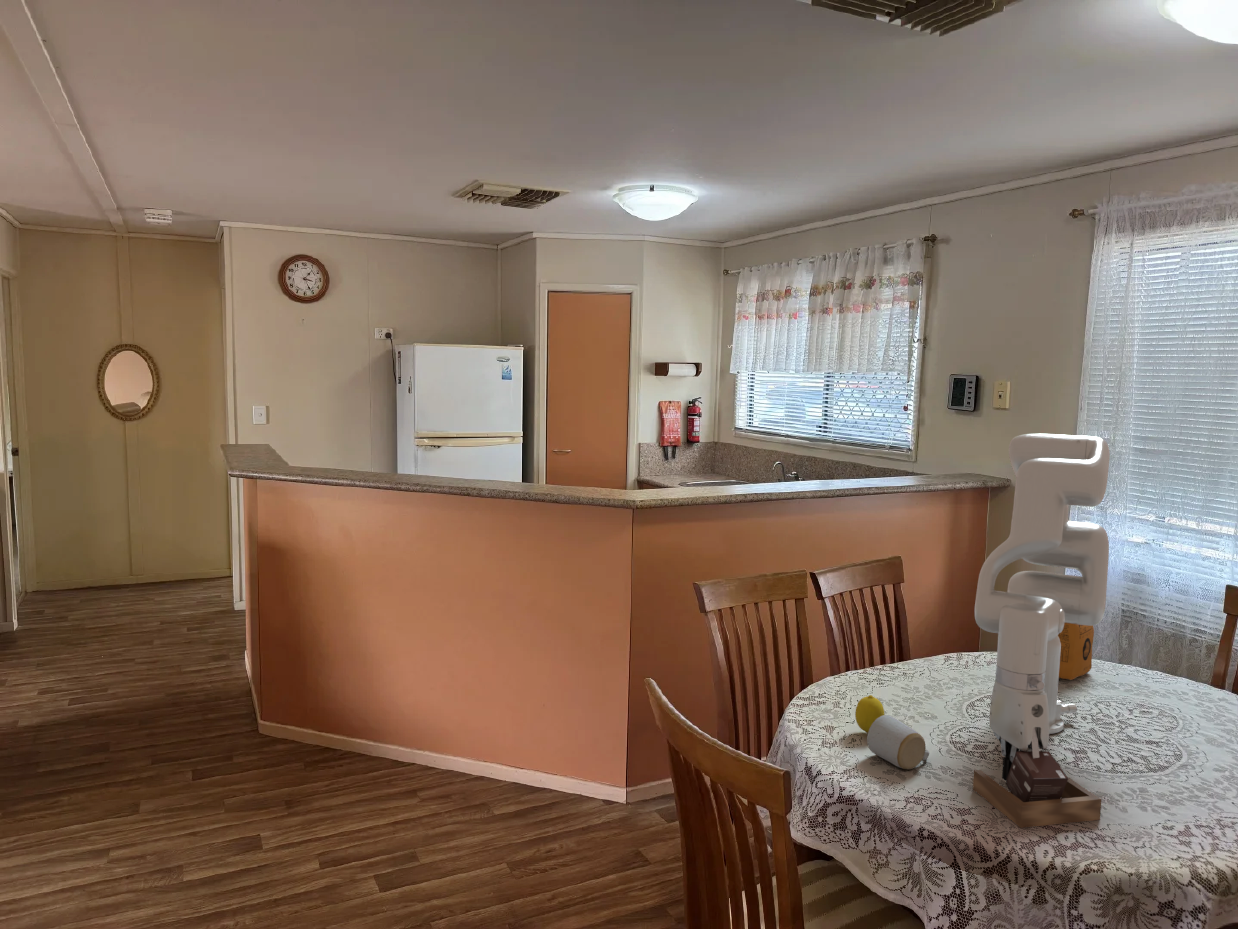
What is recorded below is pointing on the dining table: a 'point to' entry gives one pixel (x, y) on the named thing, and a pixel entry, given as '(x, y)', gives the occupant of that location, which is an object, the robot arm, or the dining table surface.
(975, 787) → the bay
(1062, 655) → the coffee package
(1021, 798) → the box
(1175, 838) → the dining table surface
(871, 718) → the lemon
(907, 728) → the ceramic mug
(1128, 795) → the dining table surface
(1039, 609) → the robot arm
